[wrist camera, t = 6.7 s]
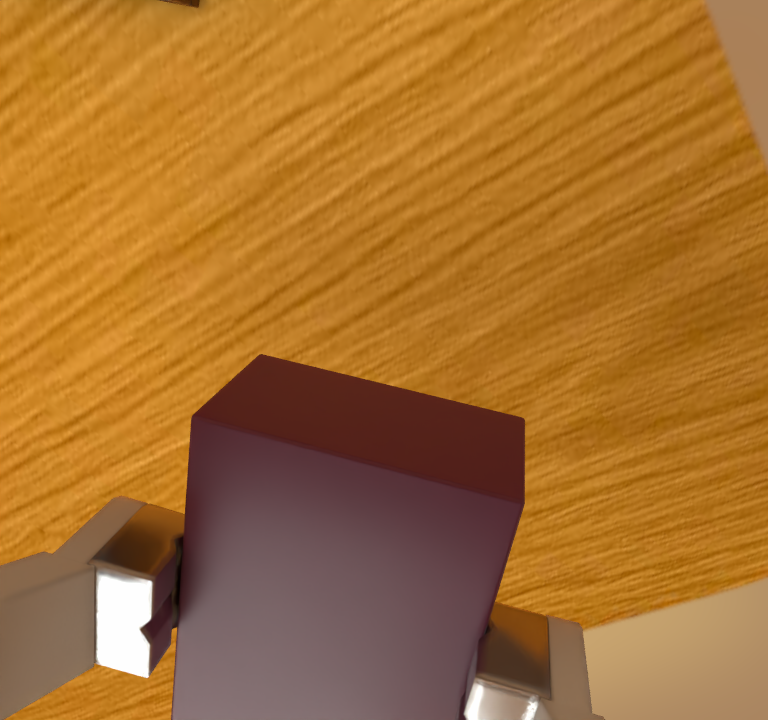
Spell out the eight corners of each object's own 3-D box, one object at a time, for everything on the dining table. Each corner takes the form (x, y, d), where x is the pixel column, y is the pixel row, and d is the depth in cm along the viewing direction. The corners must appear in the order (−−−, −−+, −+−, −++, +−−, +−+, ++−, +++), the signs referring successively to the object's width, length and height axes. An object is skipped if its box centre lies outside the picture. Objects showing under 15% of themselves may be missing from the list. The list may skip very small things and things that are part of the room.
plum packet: (259, 352, 11) (189, 414, 9) (525, 417, 10) (525, 502, 8) (230, 623, 13) (169, 729, 11) (447, 688, 13) (431, 814, 10)
